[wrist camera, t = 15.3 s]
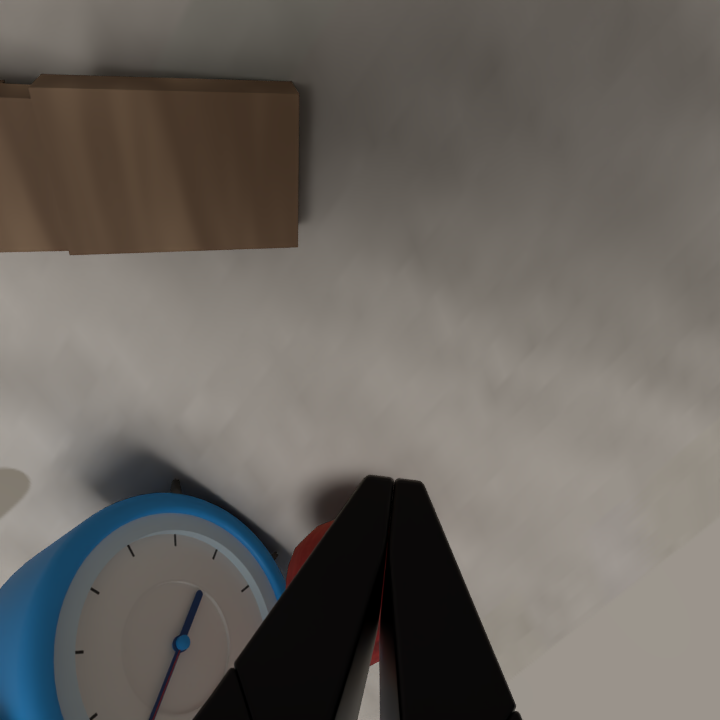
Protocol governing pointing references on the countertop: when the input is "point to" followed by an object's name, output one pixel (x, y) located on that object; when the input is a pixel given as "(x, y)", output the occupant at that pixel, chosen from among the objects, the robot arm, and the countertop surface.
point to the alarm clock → (133, 612)
